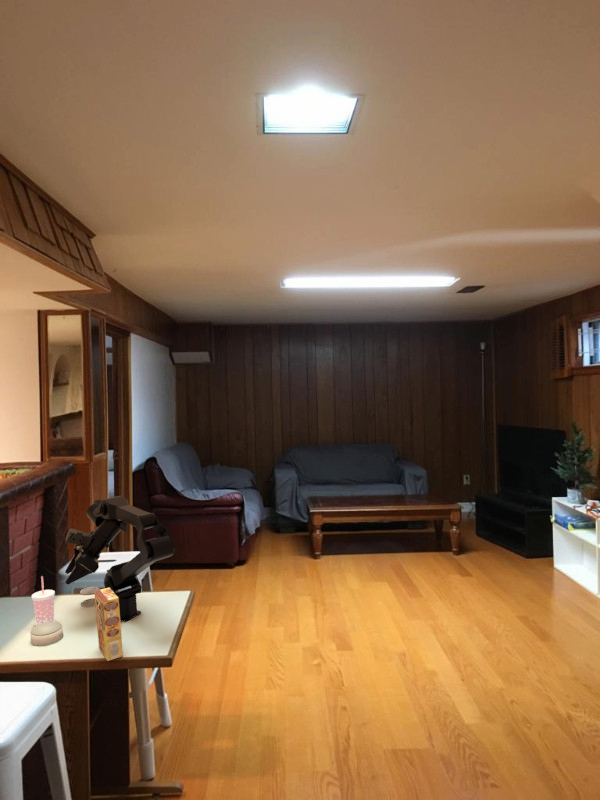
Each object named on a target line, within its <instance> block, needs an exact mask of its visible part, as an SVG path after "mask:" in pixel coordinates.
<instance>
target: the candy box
mask: <svg viewBox="0 0 600 800" xmlns="http://www.w3.org/2000/svg"><path fill="white" fill-rule="evenodd" d="M94 593H95V594H94V598H95V606H94V607H95V616H96V617H95V618H96V630H97V641H98V649H99V651H100V652H101V653H102V655H103V657H104V658H105V660H106V661H107V662H109V661H113V660H115V659H118V658H121V657H123V656H124V652H123V651H124V650H123V639H122V638H123V637H122V625H121V622H122V621H120V609H119V598H118V596H117V595H116V594H115V593H114V592H113V591H112V590H111V589H110V588H105V587H104V588H102V589H99V590H97V591H95V592H94Z"/></svg>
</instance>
